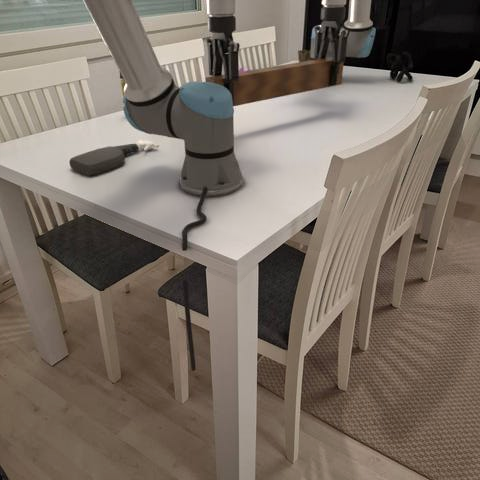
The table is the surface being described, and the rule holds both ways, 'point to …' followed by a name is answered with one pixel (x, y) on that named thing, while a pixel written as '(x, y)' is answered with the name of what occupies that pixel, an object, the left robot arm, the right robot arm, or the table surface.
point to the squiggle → (399, 66)
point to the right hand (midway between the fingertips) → (327, 83)
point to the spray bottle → (106, 157)
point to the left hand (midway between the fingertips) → (224, 103)
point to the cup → (304, 55)
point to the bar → (280, 80)
